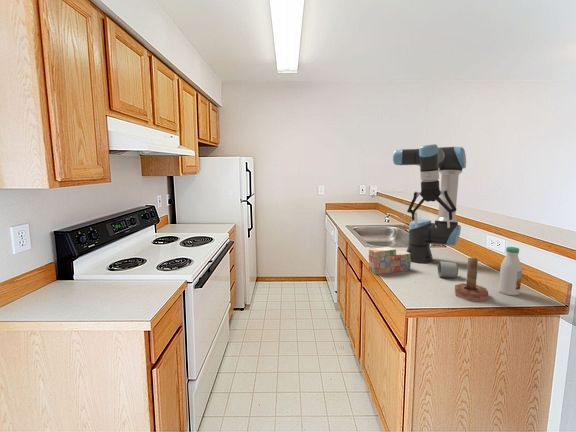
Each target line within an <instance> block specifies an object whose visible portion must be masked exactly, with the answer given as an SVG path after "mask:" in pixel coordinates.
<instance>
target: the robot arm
mask: <svg viewBox="0 0 576 432" xmlns="http://www.w3.org/2000/svg"><path fill="white" fill-rule="evenodd" d="M392 161H393V164H394V165H395V166H418V167H419V173H420V192H419V191H414V192H413V198H412V200H411V202H410V204H409V207H408V208H407V210H406V211H407V213H409V214H411V220H412V221H410V222H409V225H408V227H409V228H408V246H407V248H406V250H405V251H406V252H408V253H411V263H418V264H421V263H422V264H425V263H431V262H432V261H433V254H432V249H431V244H434V245H442V246H451V247H452V246H455V245H457V243H458V242H459V239H460V235H461V230H462V226H461V225H460V224H458V223H459V221H458V219H456V215H457V214H456V213H457V212H456V211H457V202H458V201H457V200H458V189H459V176H460V174H461V173H463V169H466V167H467V155H466V151H465V148H464V147H462V146H444V147H443V146H442V147H438V145H437V144H434V143H433V144H427V145H426V144H425V145H421V146H419V148H408V149H406V148H405V149H402V148H401V149H396V150H394V152H393V154H392ZM440 175H441V179H440ZM439 179H440V181H439ZM419 196H420V197H422V199H421V200H420V201H419V202H418V203H417V205H416V206H415V207H414V205H415V203H416V201H417V198H419ZM424 202H438V204H439V205H438V214H437V216H438V217H437V218H436V219H435V220H434V222H432V220H431V219H418V213H417V210H418V209H419V208H420V207H421V205H423V203H424Z"/></svg>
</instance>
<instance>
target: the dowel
mask: <svg viewBox="0 0 576 432" xmlns="http://www.w3.org/2000/svg"><path fill="white" fill-rule="evenodd" d="M478 261H479V259H478V258H475V257H468V258H467V268H466V269H467V273H466V283H465V284H466V290H469V291H476V285H477V278H478V264H479V262H478Z"/></svg>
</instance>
